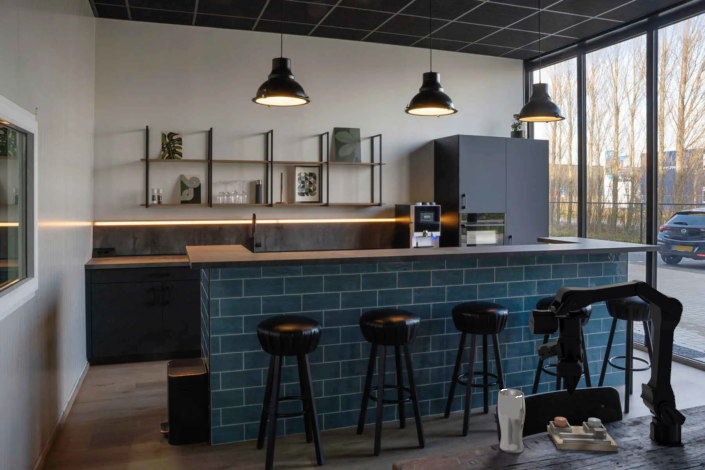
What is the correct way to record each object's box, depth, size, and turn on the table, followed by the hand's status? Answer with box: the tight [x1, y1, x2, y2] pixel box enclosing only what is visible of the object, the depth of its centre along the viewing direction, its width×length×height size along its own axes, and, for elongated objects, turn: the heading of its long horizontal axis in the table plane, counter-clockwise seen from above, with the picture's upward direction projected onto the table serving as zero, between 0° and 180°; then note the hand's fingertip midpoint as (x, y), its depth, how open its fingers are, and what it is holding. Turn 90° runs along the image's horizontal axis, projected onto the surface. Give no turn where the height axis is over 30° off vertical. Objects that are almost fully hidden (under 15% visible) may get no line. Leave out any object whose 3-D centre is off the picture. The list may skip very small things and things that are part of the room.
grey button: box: [587, 417, 602, 428], centre depth 149 cm, size 3×3×2 cm
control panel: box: [546, 420, 619, 452], centre depth 147 cm, size 15×12×3 cm
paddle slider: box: [593, 428, 604, 439], centre depth 143 cm, size 2×2×3 cm
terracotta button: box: [554, 416, 568, 427], centre depth 150 cm, size 3×3×2 cm
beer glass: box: [497, 388, 526, 454], centre depth 142 cm, size 7×7×15 cm
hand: (571, 390), depth 146 cm, fingers open, 9 cm apart
